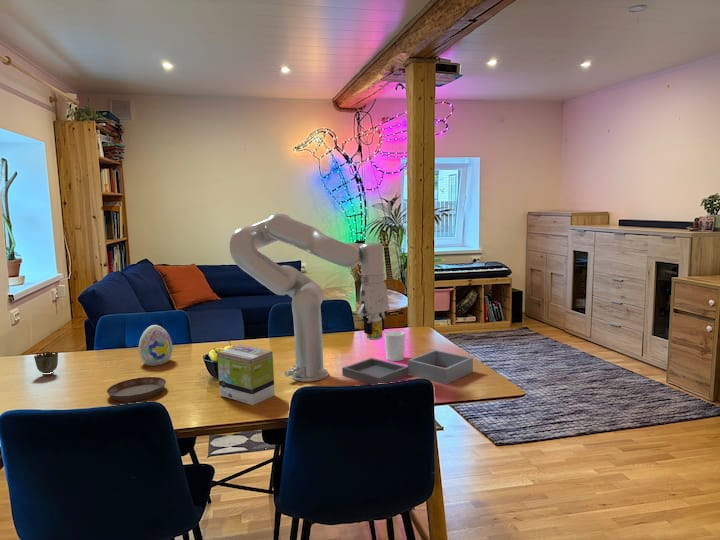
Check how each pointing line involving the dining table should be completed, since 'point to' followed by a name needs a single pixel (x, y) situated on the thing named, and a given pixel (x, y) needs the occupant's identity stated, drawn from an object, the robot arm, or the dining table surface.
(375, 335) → the supplement bottle
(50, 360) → the cup
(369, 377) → the tray
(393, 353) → the white cup
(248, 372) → the tea box
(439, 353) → the gray square frame
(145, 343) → the decorative egg
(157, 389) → the plant saucer
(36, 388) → the dining table surface
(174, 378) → the dining table surface
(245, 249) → the robot arm
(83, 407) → the dining table surface
